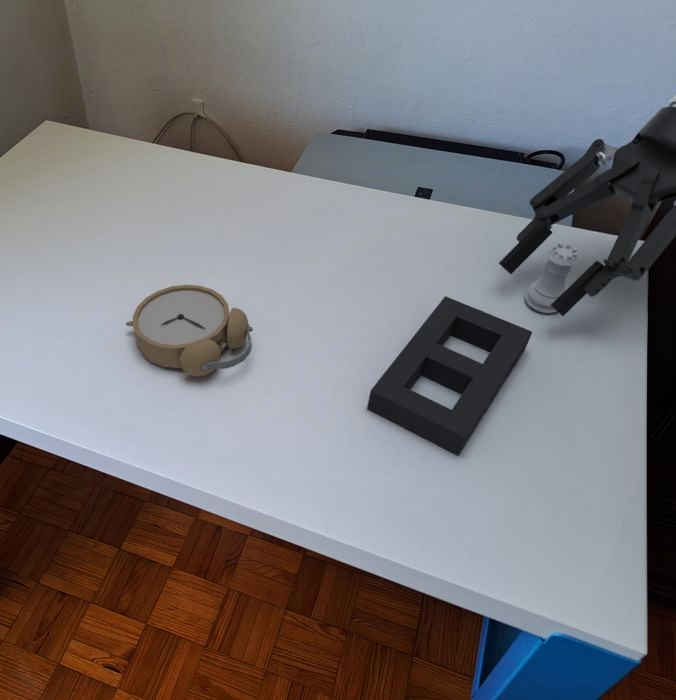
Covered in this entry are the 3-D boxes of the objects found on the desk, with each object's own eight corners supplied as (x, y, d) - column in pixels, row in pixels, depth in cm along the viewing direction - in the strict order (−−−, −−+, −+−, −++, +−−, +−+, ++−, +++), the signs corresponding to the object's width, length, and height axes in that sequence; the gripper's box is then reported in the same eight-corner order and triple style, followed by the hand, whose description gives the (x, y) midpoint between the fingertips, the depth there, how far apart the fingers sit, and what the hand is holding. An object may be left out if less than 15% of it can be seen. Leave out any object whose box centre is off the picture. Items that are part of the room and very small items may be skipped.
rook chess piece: (536, 285, 85) (558, 232, 79) (570, 303, 82) (595, 250, 77) (516, 301, 83) (536, 249, 77) (549, 320, 80) (573, 267, 75)
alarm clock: (176, 273, 84) (272, 307, 76) (183, 305, 87) (277, 341, 79) (110, 322, 79) (206, 365, 70) (121, 355, 82) (214, 400, 73)
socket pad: (524, 350, 77) (532, 331, 75) (458, 456, 68) (465, 438, 66) (440, 314, 82) (445, 295, 80) (366, 408, 72) (370, 390, 70)
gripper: (608, 69, 76) (458, 230, 83) (786, 154, 63) (590, 335, 70) (624, 104, 81) (482, 252, 88) (792, 188, 68) (608, 354, 75)
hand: (530, 288), depth 79 cm, fingers open, 8 cm apart
